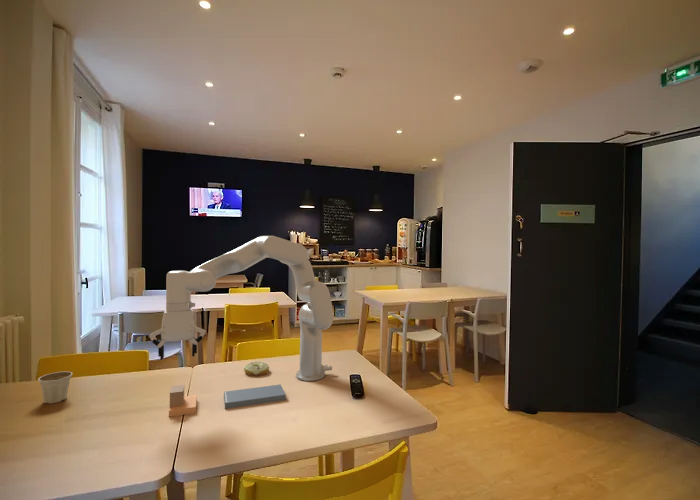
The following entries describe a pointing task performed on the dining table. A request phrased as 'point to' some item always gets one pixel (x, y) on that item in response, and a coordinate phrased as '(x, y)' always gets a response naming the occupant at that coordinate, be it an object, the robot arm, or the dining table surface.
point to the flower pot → (55, 386)
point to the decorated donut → (256, 368)
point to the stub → (181, 402)
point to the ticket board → (253, 396)
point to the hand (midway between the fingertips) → (178, 356)
